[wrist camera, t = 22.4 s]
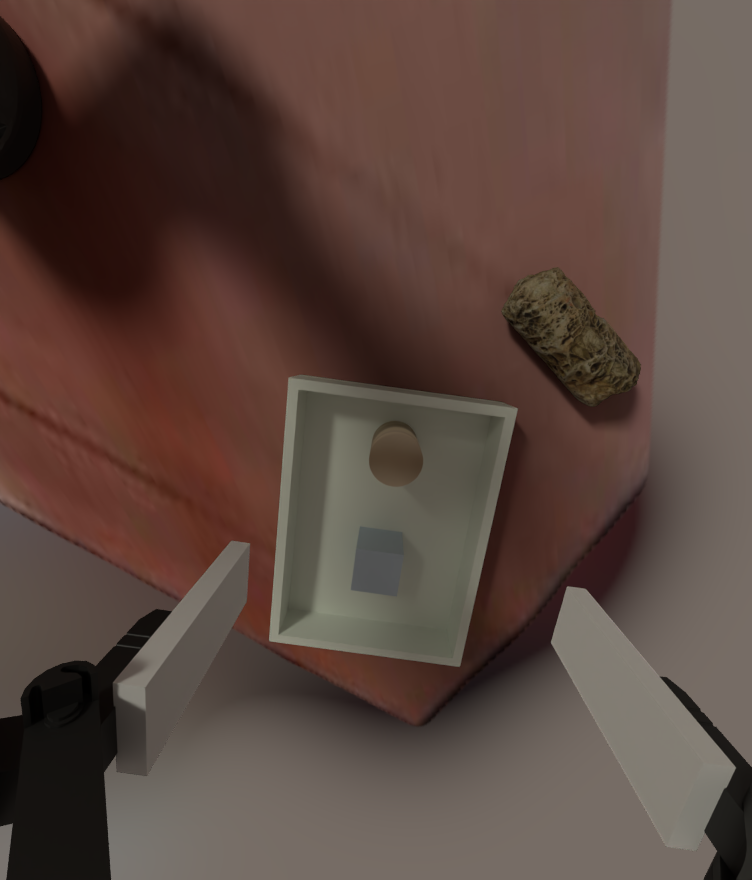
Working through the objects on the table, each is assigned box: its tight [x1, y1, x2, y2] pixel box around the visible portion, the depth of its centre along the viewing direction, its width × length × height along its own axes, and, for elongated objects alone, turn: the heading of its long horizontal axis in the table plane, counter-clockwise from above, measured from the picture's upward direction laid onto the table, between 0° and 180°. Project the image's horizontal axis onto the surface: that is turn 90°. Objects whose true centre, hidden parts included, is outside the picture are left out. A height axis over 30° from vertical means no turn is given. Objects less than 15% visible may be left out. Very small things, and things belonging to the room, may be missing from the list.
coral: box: [502, 267, 641, 407], centre depth 35 cm, size 14×6×6 cm, turn 45°
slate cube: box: [351, 526, 404, 597], centre depth 41 cm, size 5×5×5 cm
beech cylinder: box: [369, 421, 423, 487], centre depth 37 cm, size 5×5×7 cm
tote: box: [269, 375, 518, 667], centre depth 41 cm, size 22×30×5 cm
